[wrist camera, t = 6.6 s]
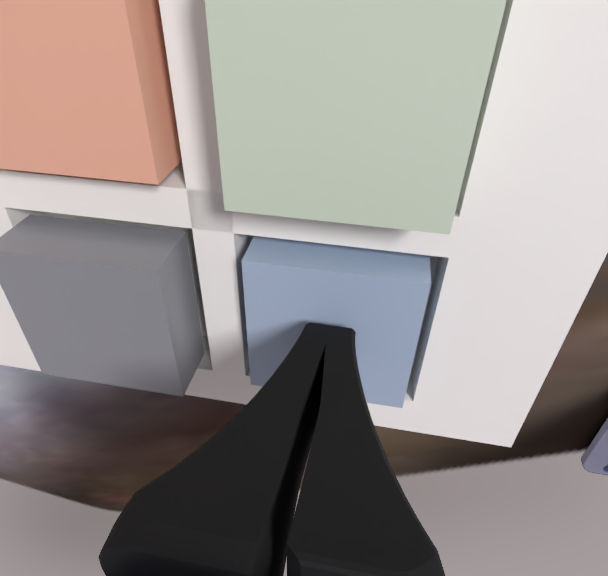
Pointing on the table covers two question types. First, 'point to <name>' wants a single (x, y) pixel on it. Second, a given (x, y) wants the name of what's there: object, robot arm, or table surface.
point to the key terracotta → (86, 90)
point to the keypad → (440, 247)
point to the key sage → (349, 106)
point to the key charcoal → (104, 301)
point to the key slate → (336, 307)
